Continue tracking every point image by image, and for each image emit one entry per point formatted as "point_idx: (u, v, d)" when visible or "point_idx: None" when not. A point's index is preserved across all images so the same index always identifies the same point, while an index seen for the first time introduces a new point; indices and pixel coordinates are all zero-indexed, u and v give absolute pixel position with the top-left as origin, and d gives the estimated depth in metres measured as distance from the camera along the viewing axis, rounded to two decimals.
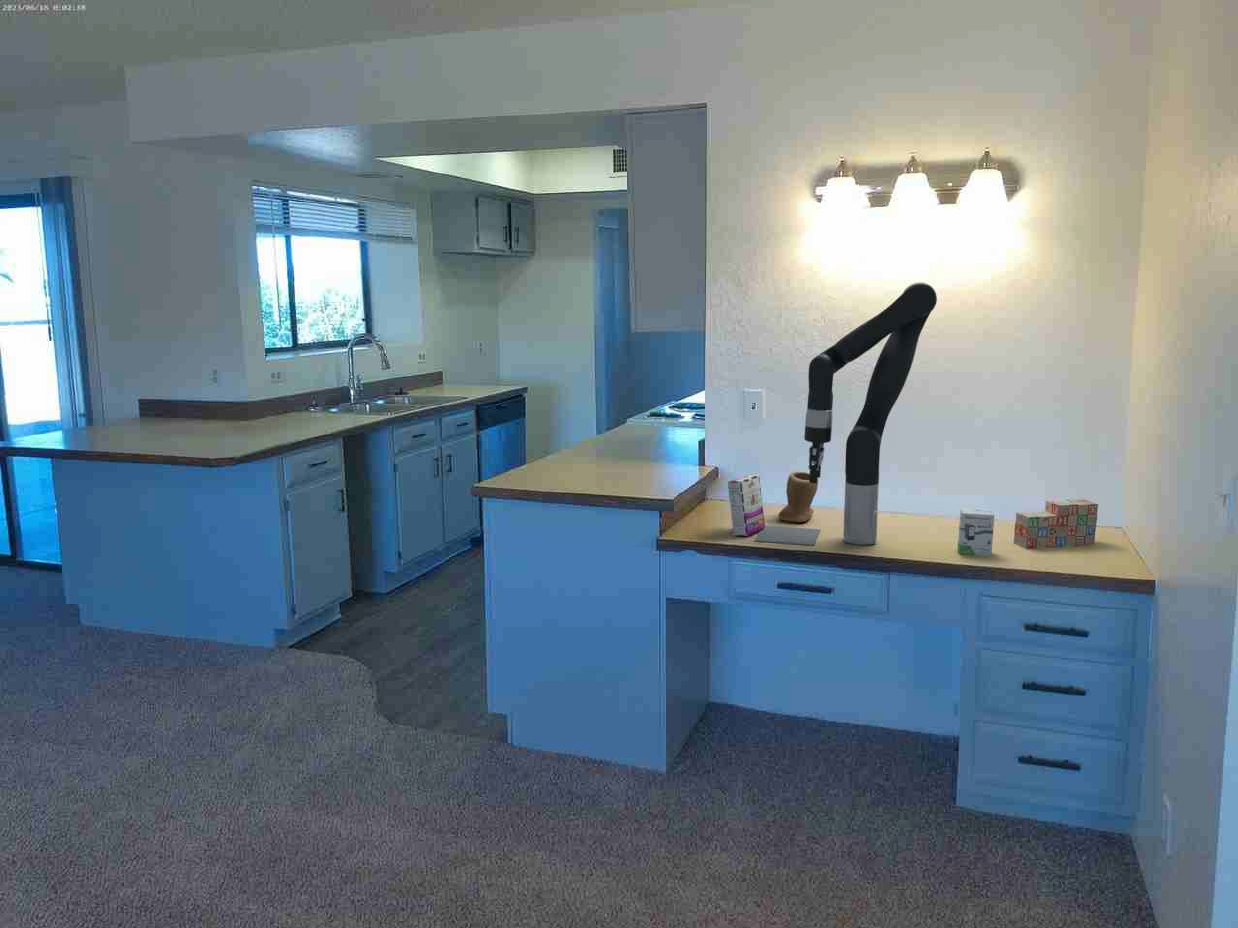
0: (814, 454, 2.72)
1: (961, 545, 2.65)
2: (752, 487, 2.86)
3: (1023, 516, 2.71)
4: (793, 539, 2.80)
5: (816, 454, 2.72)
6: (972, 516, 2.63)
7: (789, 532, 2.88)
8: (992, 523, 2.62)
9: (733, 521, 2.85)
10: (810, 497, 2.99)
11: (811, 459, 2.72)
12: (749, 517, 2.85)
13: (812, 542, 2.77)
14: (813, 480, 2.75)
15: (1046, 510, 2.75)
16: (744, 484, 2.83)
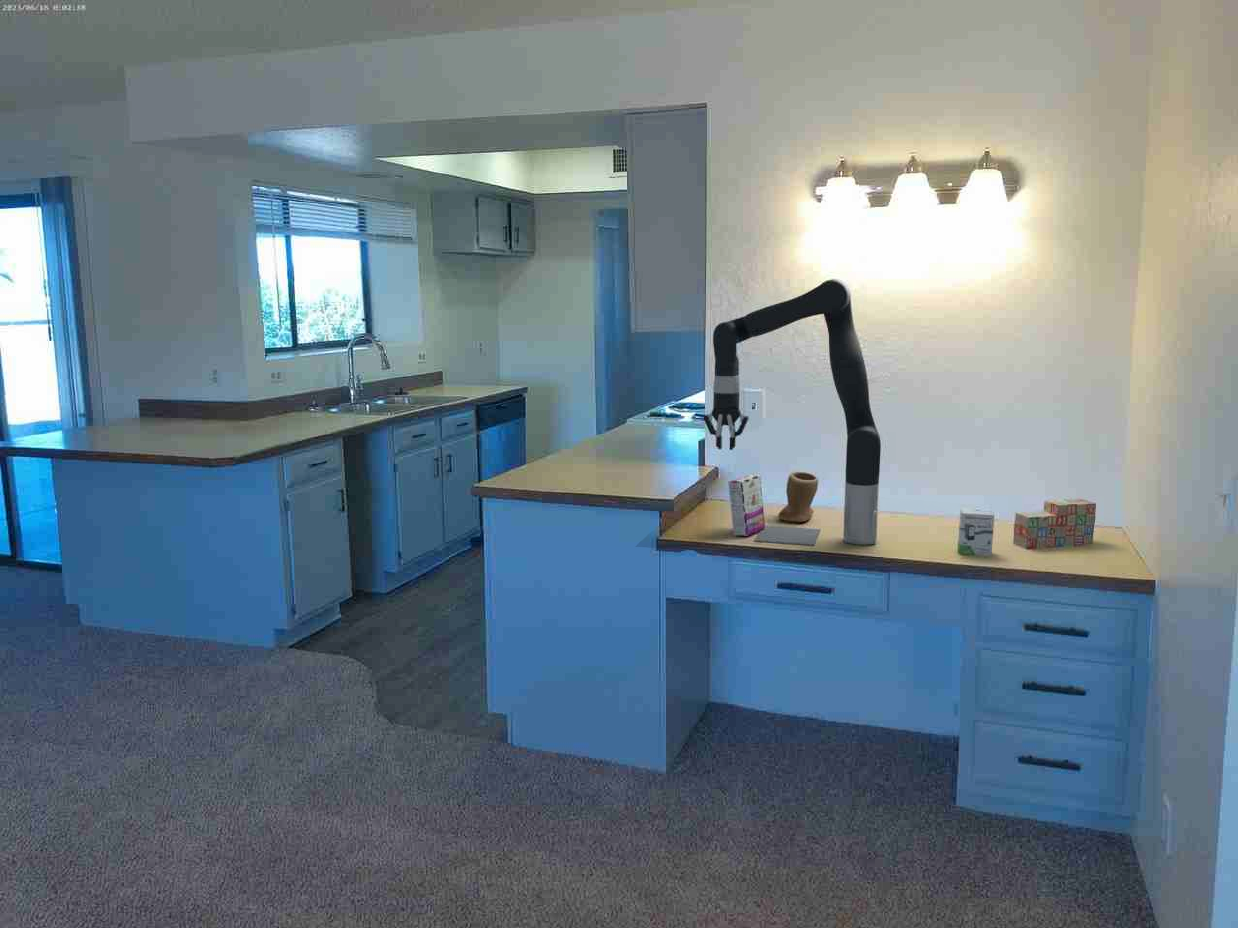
0: (746, 422, 2.83)
1: (961, 545, 2.65)
2: (753, 487, 2.86)
3: (1023, 516, 2.71)
4: (793, 539, 2.80)
5: (746, 422, 2.84)
6: (972, 516, 2.63)
7: (789, 532, 2.88)
8: (992, 523, 2.62)
9: (733, 521, 2.85)
10: (810, 497, 2.99)
11: (743, 427, 2.83)
12: (750, 517, 2.85)
13: (812, 542, 2.77)
14: (734, 446, 2.86)
15: (1045, 510, 2.76)
16: (745, 484, 2.83)
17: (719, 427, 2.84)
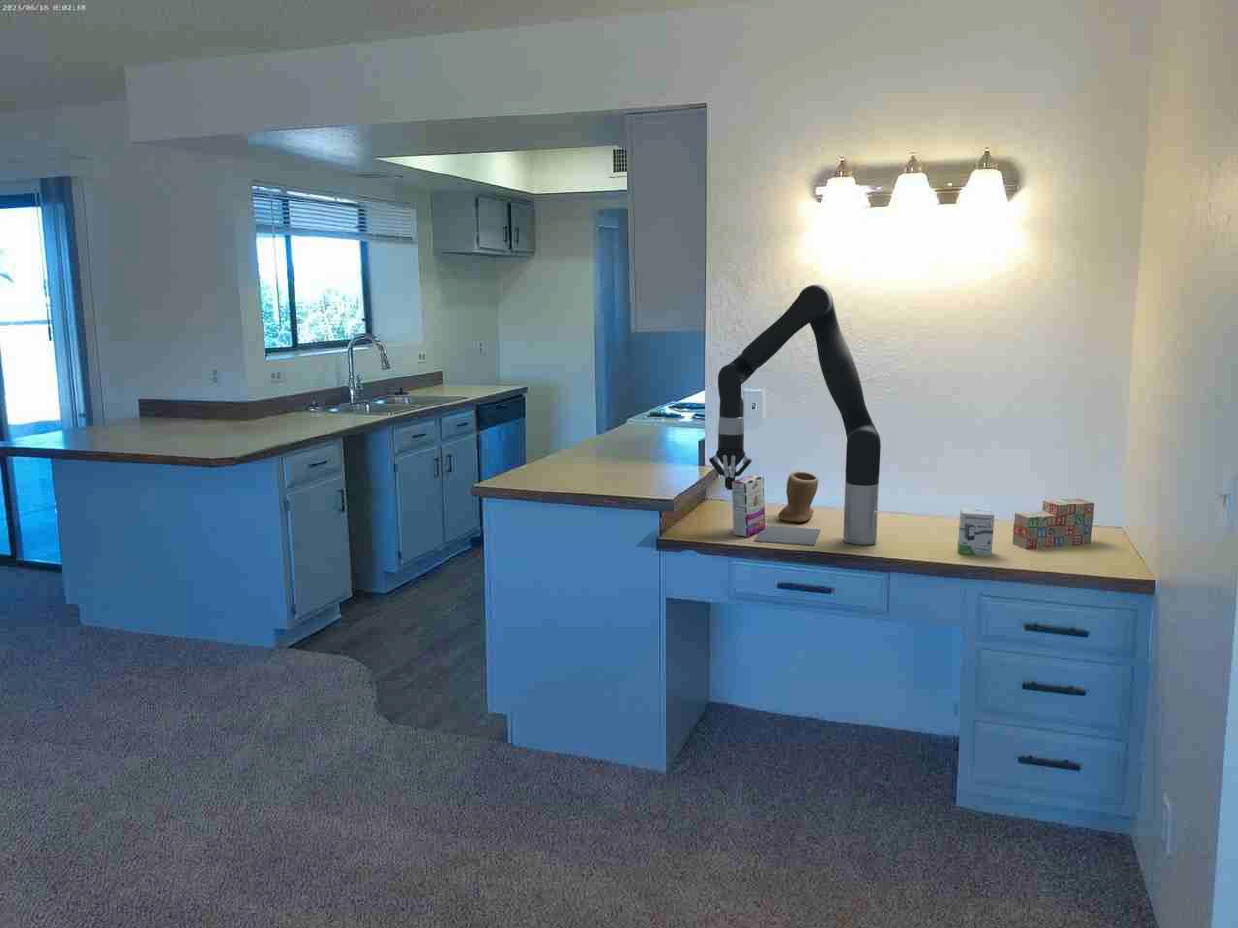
0: None
1: (961, 545, 2.65)
2: (756, 488, 2.85)
3: (1023, 516, 2.71)
4: (793, 539, 2.80)
5: None
6: (972, 516, 2.63)
7: (789, 532, 2.88)
8: (992, 523, 2.62)
9: (734, 521, 2.85)
10: (810, 497, 2.99)
11: (744, 469, 2.85)
12: (751, 518, 2.84)
13: (812, 542, 2.77)
14: None
15: (1043, 510, 2.76)
16: (748, 486, 2.82)
17: (726, 468, 2.86)
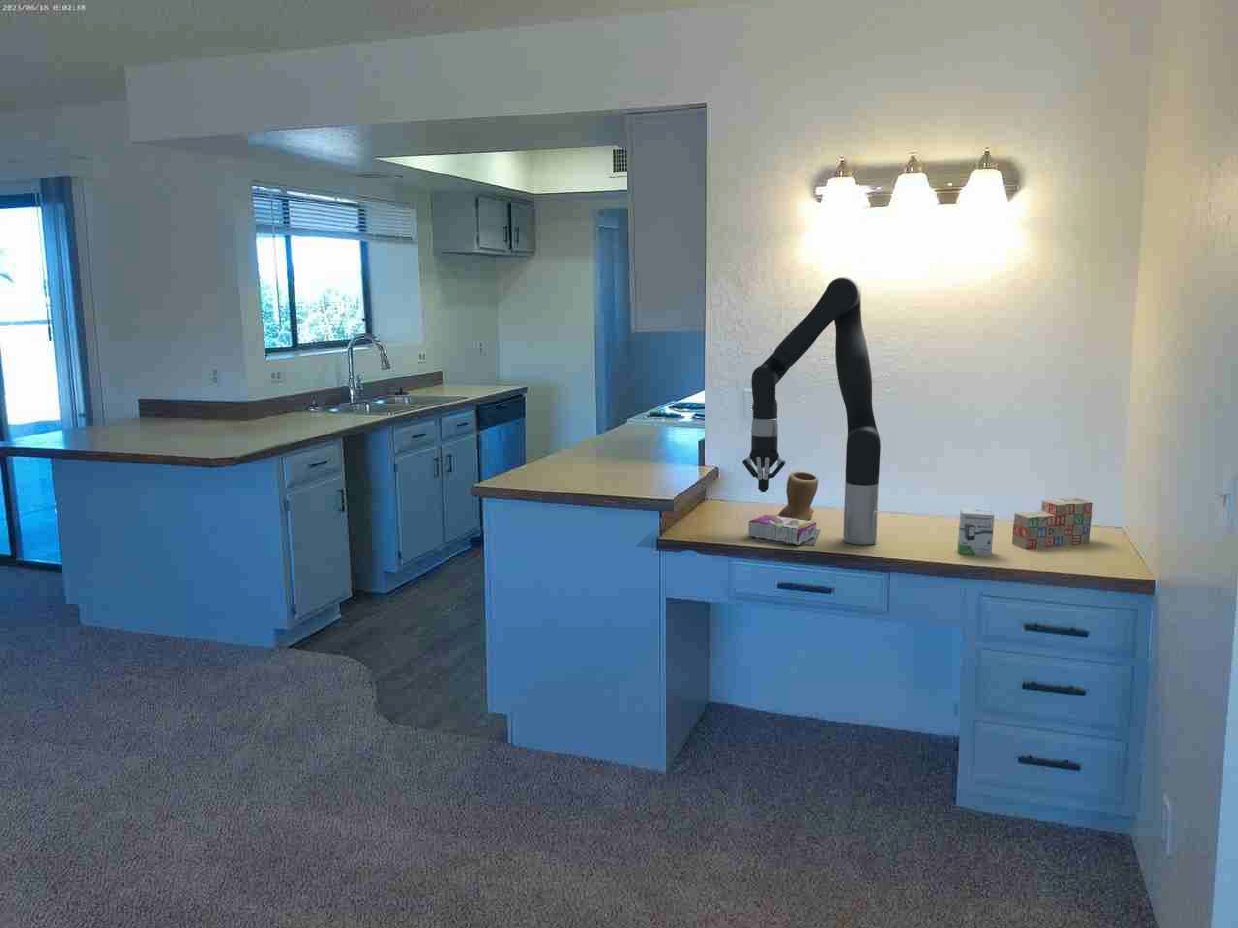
0: None
1: (961, 545, 2.65)
2: None
3: (1022, 517, 2.71)
4: None
5: None
6: (972, 516, 2.63)
7: None
8: (992, 523, 2.62)
9: (761, 524, 2.80)
10: (810, 497, 2.99)
11: (778, 471, 2.82)
12: None
13: (812, 542, 2.77)
14: (767, 488, 2.85)
15: (1042, 510, 2.76)
16: None
17: (760, 470, 2.83)
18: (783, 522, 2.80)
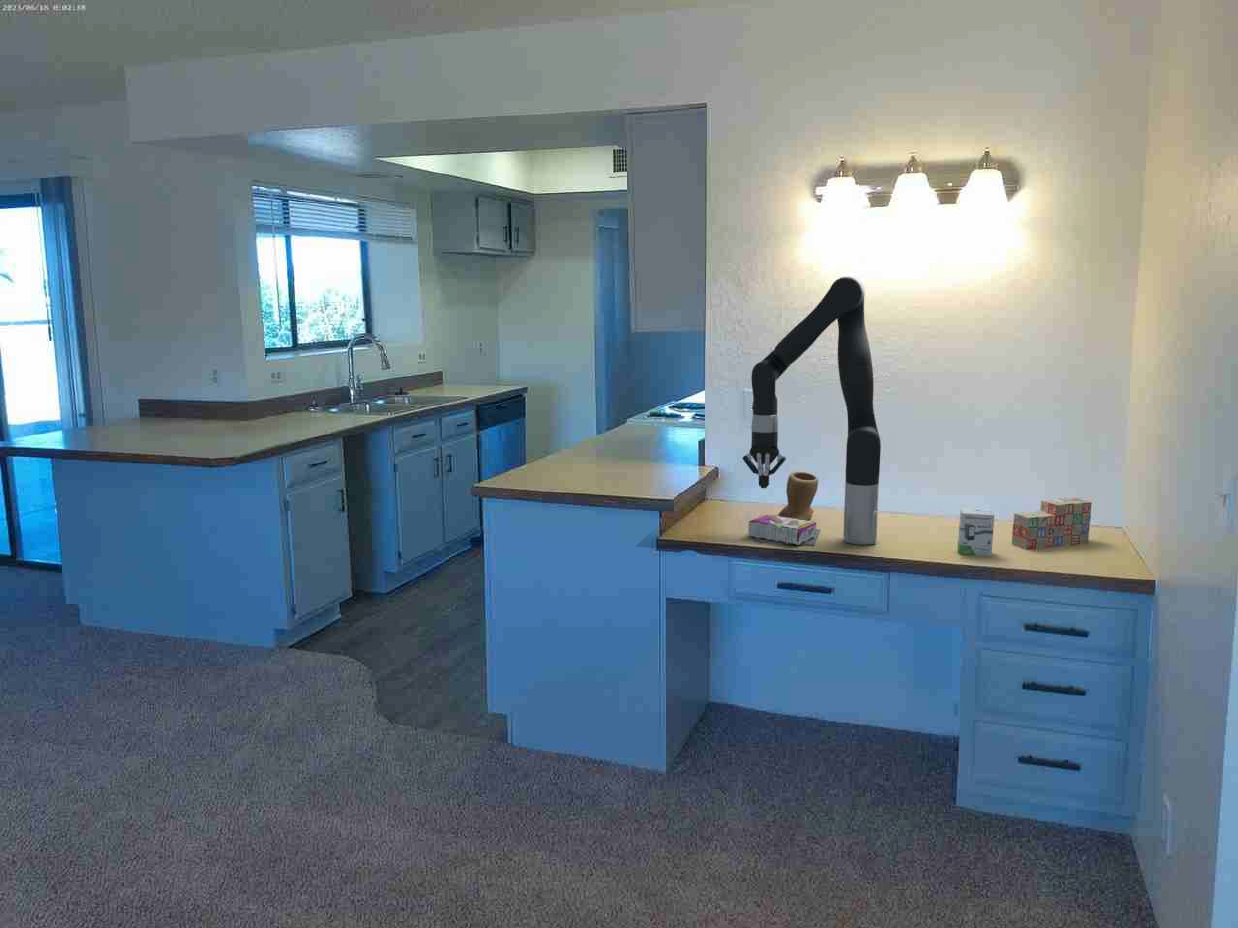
0: None
1: (961, 545, 2.65)
2: None
3: (1022, 517, 2.71)
4: None
5: None
6: (972, 516, 2.63)
7: None
8: (992, 523, 2.62)
9: (761, 524, 2.80)
10: (810, 497, 2.99)
11: None
12: None
13: (812, 542, 2.77)
14: (768, 484, 2.85)
15: (1042, 510, 2.76)
16: None
17: (760, 466, 2.83)
18: (783, 522, 2.80)
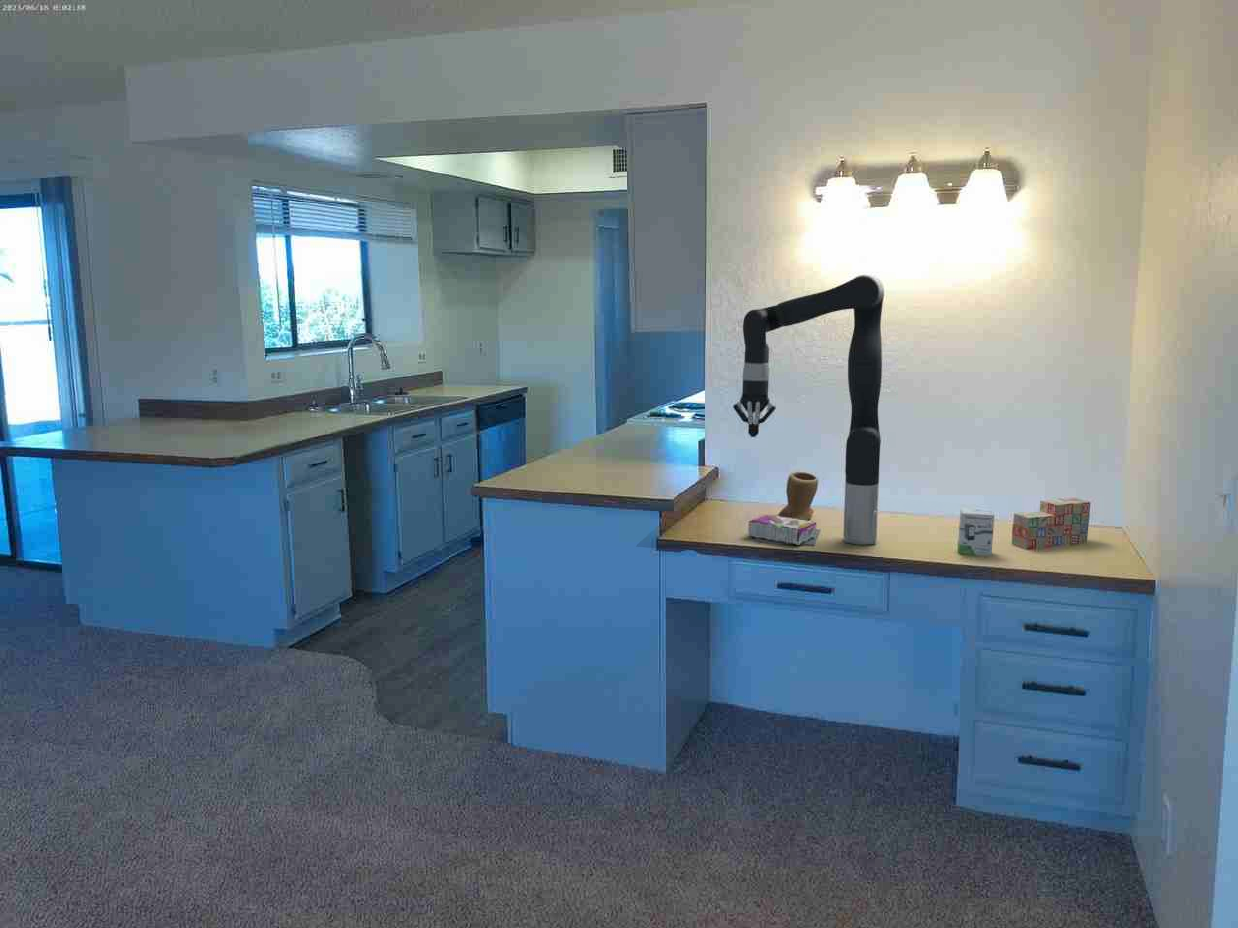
0: None
1: (961, 545, 2.65)
2: None
3: (1022, 517, 2.70)
4: None
5: None
6: (972, 516, 2.63)
7: None
8: (992, 523, 2.62)
9: (761, 524, 2.80)
10: (810, 497, 2.99)
11: (768, 416, 2.85)
12: None
13: (812, 542, 2.77)
14: (757, 433, 2.87)
15: (1041, 510, 2.76)
16: None
17: (750, 414, 2.85)
18: (783, 522, 2.80)
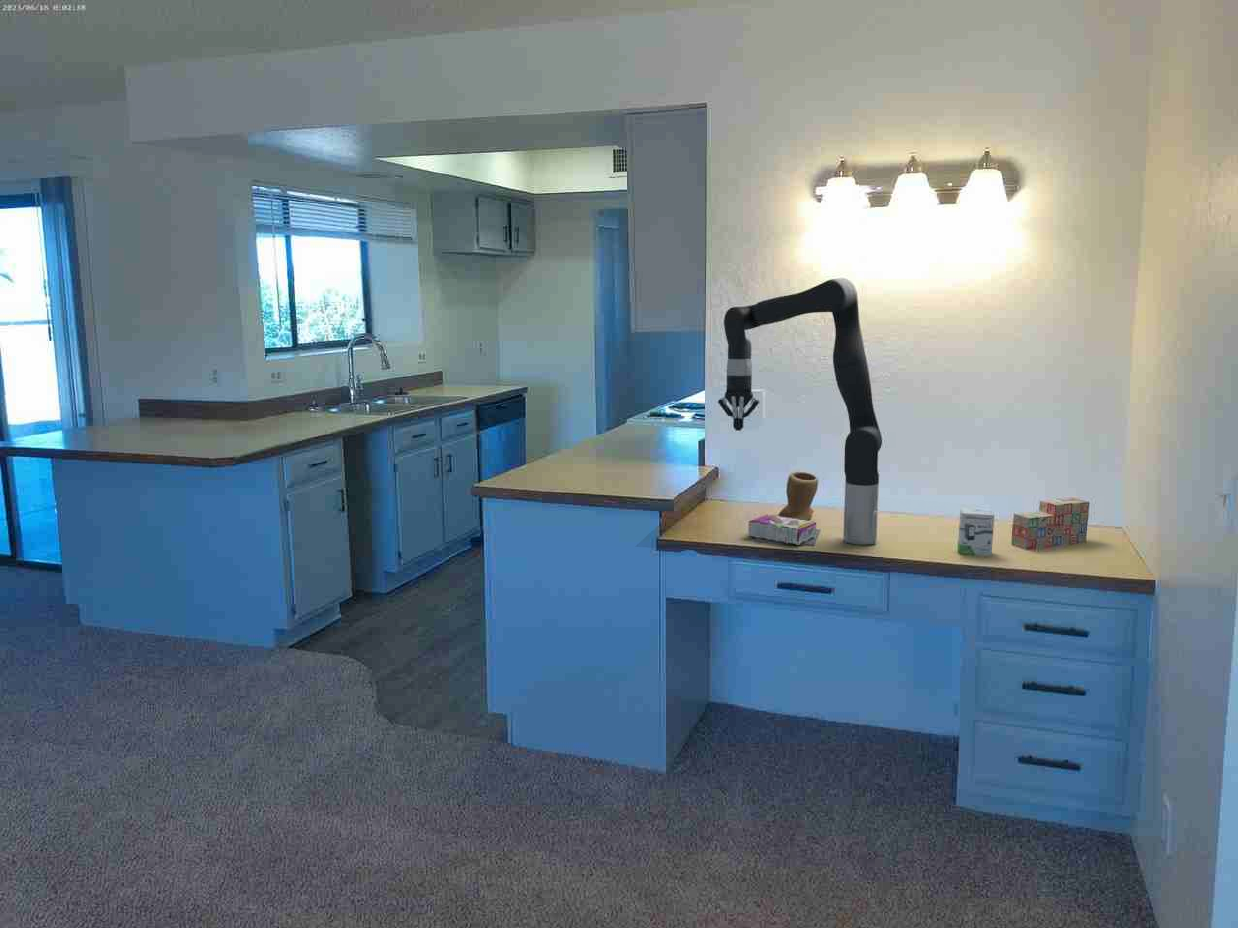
0: None
1: (961, 545, 2.65)
2: None
3: (1022, 517, 2.70)
4: None
5: None
6: (972, 516, 2.63)
7: None
8: (992, 523, 2.62)
9: (761, 524, 2.80)
10: (810, 497, 2.99)
11: (752, 410, 2.94)
12: None
13: (812, 542, 2.77)
14: (742, 427, 2.96)
15: (1040, 510, 2.76)
16: None
17: (735, 409, 2.94)
18: (783, 522, 2.80)
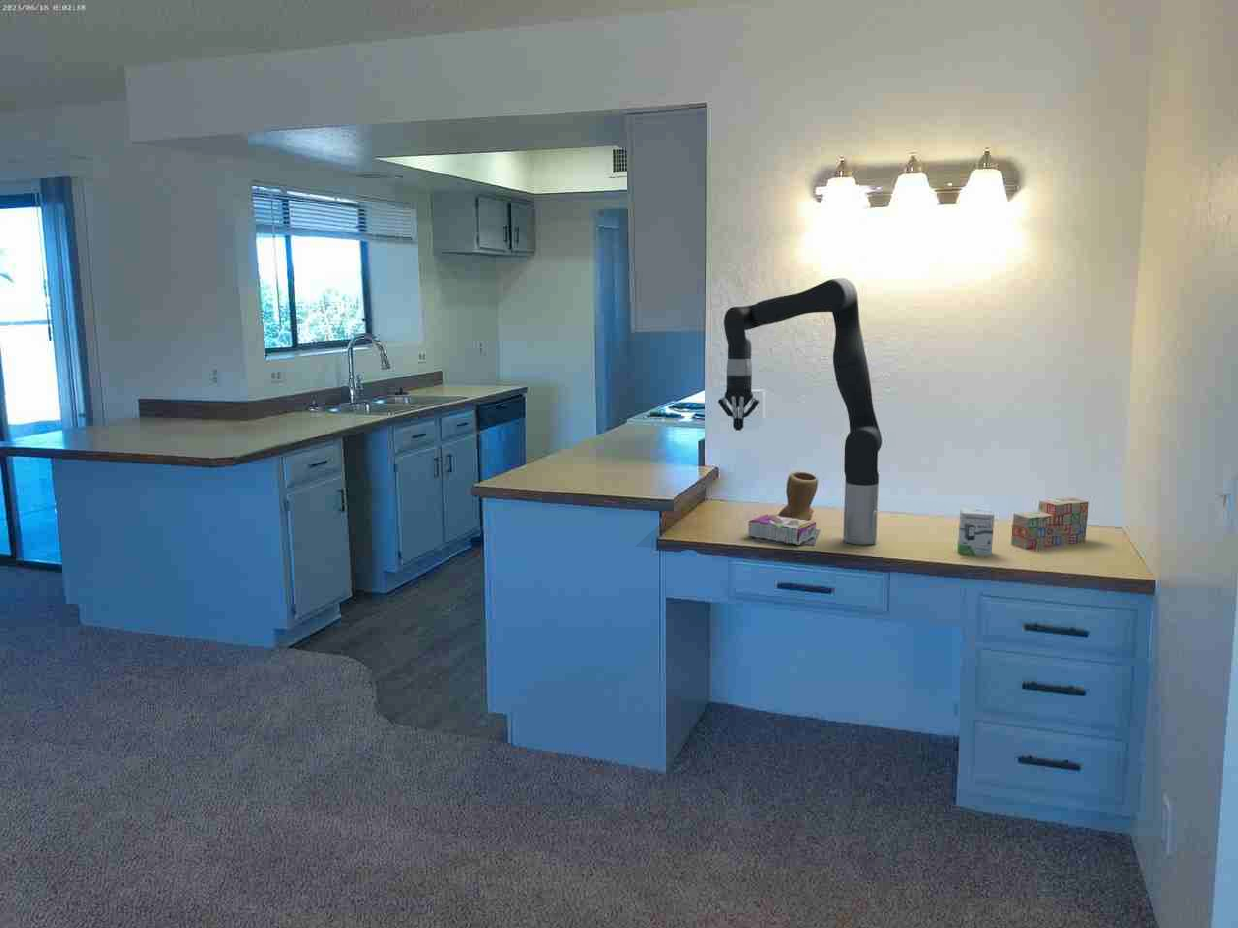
0: None
1: (961, 545, 2.65)
2: None
3: (1022, 517, 2.70)
4: None
5: None
6: (972, 516, 2.63)
7: None
8: (992, 523, 2.62)
9: (761, 524, 2.80)
10: (810, 497, 2.99)
11: (752, 410, 2.94)
12: None
13: (812, 542, 2.77)
14: (742, 427, 2.96)
15: (1040, 510, 2.76)
16: None
17: (735, 409, 2.94)
18: (783, 522, 2.80)
